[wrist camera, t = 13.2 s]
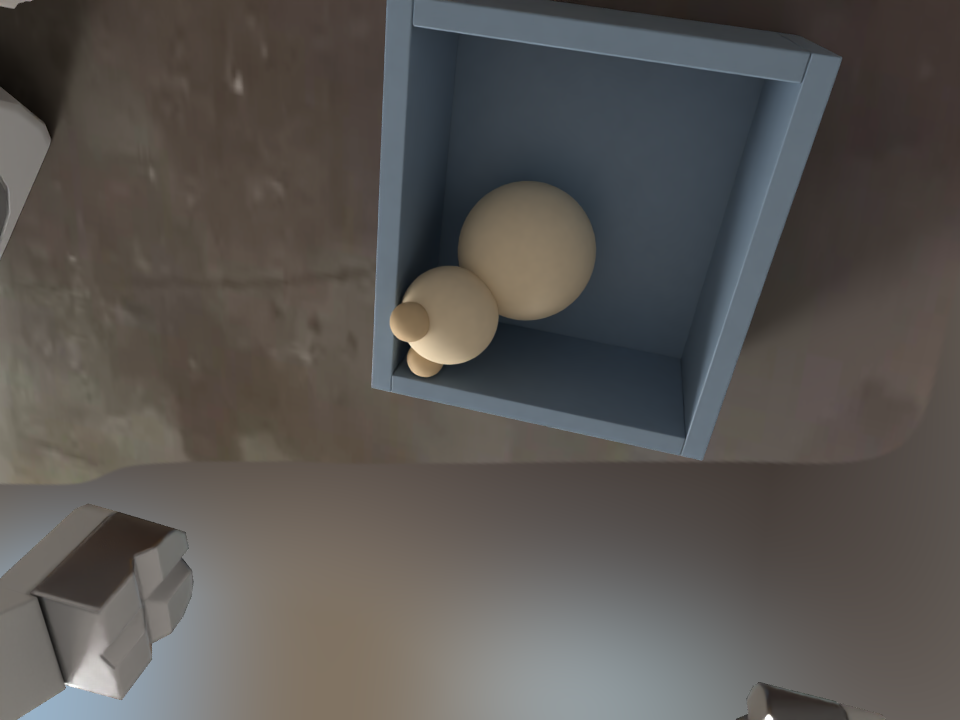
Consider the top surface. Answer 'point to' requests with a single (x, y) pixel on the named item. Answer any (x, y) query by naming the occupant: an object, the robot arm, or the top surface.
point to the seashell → (11, 3)
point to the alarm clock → (18, 159)
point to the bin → (596, 198)
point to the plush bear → (498, 274)
